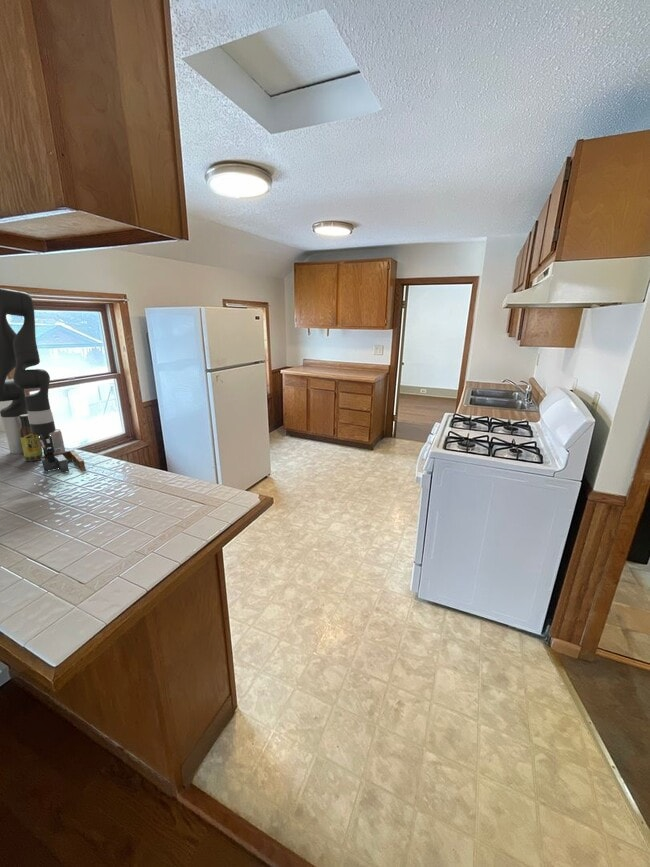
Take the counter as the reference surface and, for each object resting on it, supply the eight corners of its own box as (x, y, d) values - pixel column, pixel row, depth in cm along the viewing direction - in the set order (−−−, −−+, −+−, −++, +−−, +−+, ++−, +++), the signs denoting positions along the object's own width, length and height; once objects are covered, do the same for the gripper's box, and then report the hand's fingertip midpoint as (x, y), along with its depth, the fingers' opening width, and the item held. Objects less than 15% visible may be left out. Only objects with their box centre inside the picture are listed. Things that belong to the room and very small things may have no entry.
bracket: (64, 465, 144) (62, 454, 143) (69, 471, 139) (66, 459, 137) (43, 470, 139) (41, 458, 138) (47, 476, 134) (44, 464, 132)
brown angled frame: (43, 464, 145) (41, 455, 144) (74, 458, 152) (73, 449, 151) (52, 477, 132) (49, 467, 131) (85, 469, 140) (83, 460, 139)
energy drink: (54, 455, 156) (48, 429, 152) (68, 454, 157) (62, 428, 154) (49, 459, 151) (43, 433, 148) (63, 458, 153) (57, 432, 149)
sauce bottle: (32, 462, 147) (21, 417, 141) (21, 460, 148) (10, 416, 143) (47, 457, 153) (37, 414, 147) (37, 456, 154) (27, 412, 149)
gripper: (56, 422, 133) (65, 461, 137) (50, 416, 142) (58, 452, 147) (31, 426, 127) (41, 466, 132) (26, 418, 137) (35, 457, 142)
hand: (50, 459), depth 139 cm, fingers open, 8 cm apart
